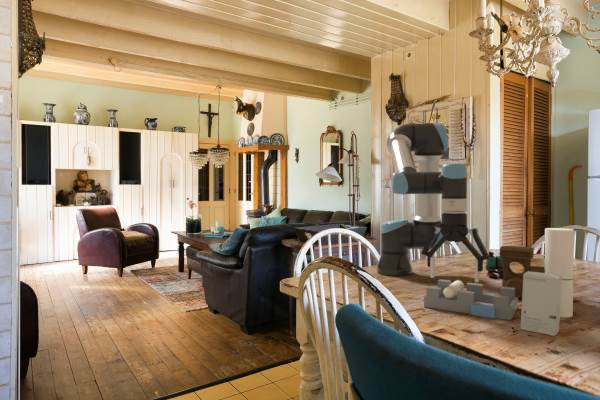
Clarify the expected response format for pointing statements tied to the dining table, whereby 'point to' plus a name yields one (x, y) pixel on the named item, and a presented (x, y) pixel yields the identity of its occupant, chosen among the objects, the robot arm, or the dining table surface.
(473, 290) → the grey notched frame
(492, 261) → the binoculars
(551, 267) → the cylindrical container
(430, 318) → the dining table surface
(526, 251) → the wooden toy train
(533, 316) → the skincare box
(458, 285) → the cream round-ended rod
